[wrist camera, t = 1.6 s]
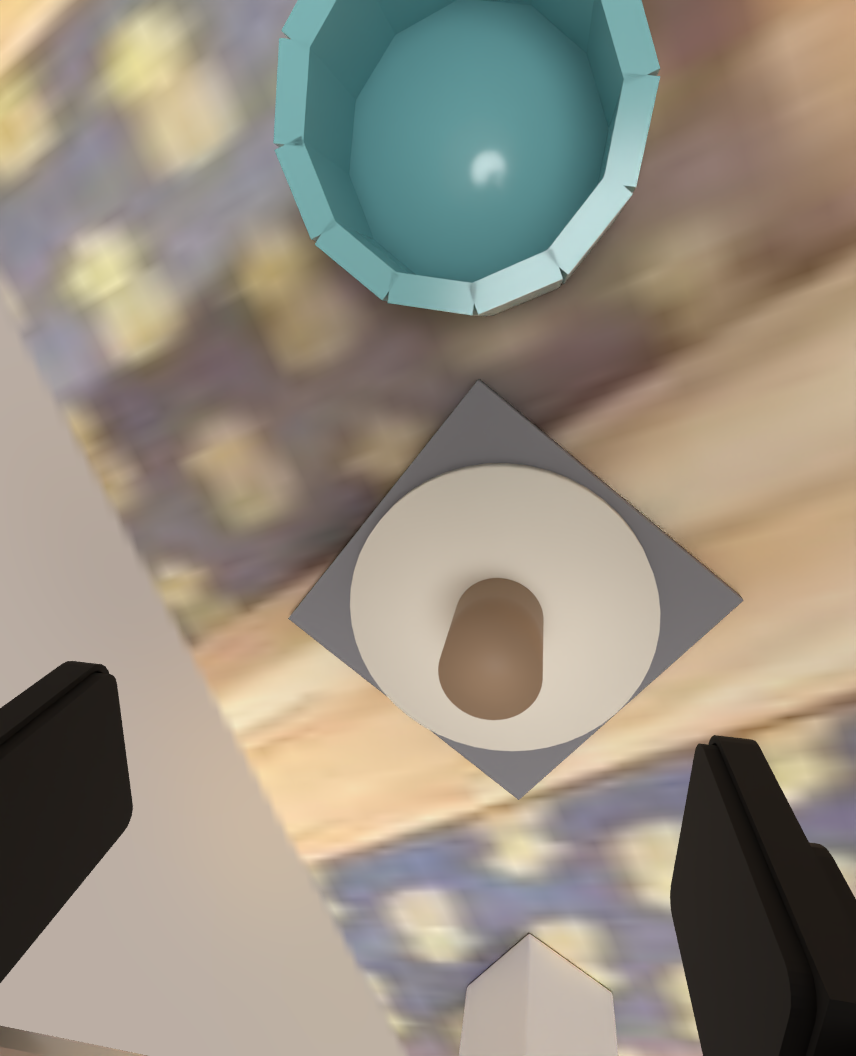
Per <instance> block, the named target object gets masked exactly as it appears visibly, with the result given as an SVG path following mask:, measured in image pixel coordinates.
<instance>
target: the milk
mask: <svg viewBox="0 0 856 1056" xmlns="http://www.w3.org/2000/svg"><path fill="white" fill-rule="evenodd" d="M459 1056H618V1047H617V1037H616V1026H615V1016H614V1005H613V996H612V993H611V992H610V991H609V990H608V989H606V988H605V987H604V986H602V985H601V984H599V983H598V982H597V981H595V980H594V979H592V978H591V977H590V976H588V975H587V974H585V973H584V972H583V971H581V970H580V969H578V968H577V967H576V966H574V965H573V964H571V963H570V962H569V961H567V960H566V959H564V958H563V957H562V956H560V955H559V954H557V953H556V952H555V951H553V950H552V949H550V948H549V947H548V946H546V945H545V944H544V943H542V942H541V941H539V940H538V939H537V938H535V937H534V936H532V935H531V934H528V935H527V936H526V937H524V938H523V939H522V940H521V941H520V942H519V943H517V944H516V945H515V946H514V947H513V948H512V949H510V950H509V951H508V952H507V953H506V954H505V955H503V956H502V957H501V958H500V959H499V960H498V961H496V962H495V963H494V964H493V965H492V966H491V967H490V968H488V969H487V970H486V971H485V972H484V973H483V974H481V975H480V976H479V977H478V978H477V979H476V980H474V981H473V982H472V983H471V984H470V985H469V986H468V987H467V992H466V1000H465V1008H464V1016H463V1025H462V1033H461V1041H460V1049H459Z"/></svg>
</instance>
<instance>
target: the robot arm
mask: <svg viewBox="0 0 856 1056" xmlns="http://www.w3.org/2000/svg"><path fill="white" fill-rule="evenodd" d="M132 810H133V805H132V796H131V789H130V781H129V773H128V766H127V758H126V750H125V743H124V735H123V727H122V720H121V712H120V704H119V696H118V689H117V682H116V679H115V677H114V676H113V675H111V674H109V671H108V670H107V668H106V667H105V666H103V665H102V664H93V663H85V662H76V661H67V662H65V663H63V664H61V665H60V666H59V667H57V668H56V669H55V670H53V671H52V672H50V673H49V674H47V675H46V676H45V677H43V678H42V679H40V680H39V681H38V682H36V683H35V684H34V685H32V686H31V687H29V688H28V689H27V690H25V691H24V692H22V693H21V694H20V695H18V696H17V697H15V698H14V699H13V700H11V701H10V702H9V703H7V704H6V705H4V706H3V707H2V708H0V983H1V982H2V980H3V979H4V978H5V977H6V976H7V974H8V973H9V972H10V971H11V969H12V968H13V967H14V966H15V965H16V963H17V962H18V961H19V960H20V958H21V957H22V956H23V955H24V953H25V952H26V951H27V950H28V949H29V947H30V946H31V945H32V943H33V942H34V941H35V940H36V939H37V938H38V936H39V935H40V934H41V933H42V931H43V930H44V929H45V928H46V926H47V925H48V924H49V922H51V920H52V919H53V918H54V917H55V915H56V914H57V913H58V912H59V911H60V909H61V908H62V907H63V906H64V904H65V903H66V902H67V901H68V899H69V898H70V897H71V896H72V895H73V893H74V892H75V891H76V890H77V888H78V887H79V886H80V885H81V883H82V882H83V881H84V880H85V879H86V877H87V876H88V875H89V874H90V872H91V871H92V870H93V869H94V868H95V866H96V865H97V864H98V863H99V861H100V860H101V859H102V858H103V857H104V855H105V854H106V852H108V850H109V849H110V848H111V847H112V845H113V844H114V843H115V842H116V841H117V839H118V838H119V837H120V836H121V834H122V833H123V832H124V831H125V829H126V828H127V826H128V824H129V821H130V819H131V816H132ZM670 903H671V912H672V917H673V922H674V926H675V931H676V935H677V940H678V944H679V949H680V953H681V958H682V962H683V967H684V971H685V976H686V980H687V985H688V989H689V994H690V998H691V1003H692V1007H693V1012H694V1016H695V1021H696V1025H697V1030H698V1034H699V1039H700V1043H701V1048H702V1052H703V1056H856V899H855V897H854V895H853V893H852V892H851V890H850V888H849V886H848V884H847V882H846V881H845V879H844V877H843V875H842V873H841V871H840V870H839V868H838V866H837V864H836V862H835V860H834V859H833V857H832V856H831V854H830V853H829V851H828V850H827V849H826V848H825V847H823V846H822V845H820V844H816V843H809V842H808V840H807V838H806V836H805V834H804V832H803V830H802V828H801V826H800V824H799V823H798V821H797V819H796V817H795V815H794V813H793V811H792V809H791V807H790V805H789V803H788V801H787V799H786V797H785V795H784V793H783V791H782V790H781V788H780V786H779V784H778V782H777V780H776V778H775V776H774V774H773V772H772V770H771V768H770V766H769V764H768V762H767V760H766V758H765V757H764V755H763V753H762V751H761V749H760V747H759V745H758V744H757V742H756V741H754V740H751V739H742V738H733V737H725V736H716V735H714V736H712V737H711V739H710V741H709V745H707V744H698V745H697V747H696V750H695V754H694V760H693V766H692V771H691V777H690V782H689V788H688V793H687V799H686V805H685V810H684V816H683V821H682V827H681V832H680V838H679V844H678V849H677V855H676V860H675V866H674V871H673V877H672V882H671V891H670ZM0 1056H147V1055H142V1054H137V1053H132V1052H128V1051H123V1050H117V1049H112V1048H108V1047H103V1046H98V1045H93V1044H89V1043H83V1042H79V1041H74V1040H69V1039H64V1038H59V1037H54V1036H49V1035H44V1034H39V1033H34V1032H29V1031H24V1030H19V1029H14V1028H9V1027H4V1026H0Z"/></svg>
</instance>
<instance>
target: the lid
mask: <svg viewBox="0 0 856 1056" xmlns="http://www.w3.org/2000/svg"><path fill="white" fill-rule="evenodd" d="M350 613H351V623H352V628H353V632H354V637H355V641H356V644H357V646H358V649H359V652H360V654H361V657H362V659H363V661H364V663H365V665H366V667H367V669H368V671H369V672H370V674H371V676H372V677H373V679H374V680H375V682H376V683H377V684H378V686H379V687H380V689H381V690H382V691H383V692H384V693H385V694H386V695H387V697H388V698H389V699H390V700H391V701H392V702H393V703H394V704H395V705H396V706H397V707H398V708H400V709H401V710H402V711H403V712H404V713H405V714H406V715H408V716H409V717H410V718H412V719H413V720H415V721H416V722H418V723H419V724H420V725H422V726H424V727H425V728H427V729H429V730H431V731H433V732H435V733H436V734H438V735H441V736H443V737H446V738H448V739H450V740H453V741H455V742H459V743H462V744H466V745H469V746H473V747H477V748H483V749H489V750H499V751H526V750H535V749H541V748H547V747H552V746H555V745H558V744H562V743H565V742H568V741H571V740H573V739H575V738H578V737H580V736H582V735H585V734H586V733H588V732H590V731H592V730H593V729H595V728H597V727H598V726H600V725H602V724H603V723H604V722H606V721H607V720H608V719H609V718H611V717H612V716H613V715H615V714H616V713H617V712H618V711H619V710H620V709H621V708H622V707H623V706H624V705H625V704H626V703H627V702H628V701H629V700H630V698H631V697H632V696H633V694H634V693H635V691H636V690H637V689H638V687H639V686H640V685H641V683H642V681H643V679H644V677H645V675H646V674H647V672H648V670H649V668H650V665H651V662H652V660H653V657H654V654H655V651H656V647H657V642H658V637H659V632H660V603H659V593H658V589H657V585H656V581H655V577H654V574H653V571H652V569H651V566H650V564H649V562H648V559H647V557H646V554H645V552H644V550H643V547H642V546H641V544H640V542H639V541H638V539H637V537H636V536H635V534H634V532H633V531H632V529H631V528H630V527H629V526H628V524H627V523H626V522H625V521H624V519H623V518H622V517H621V516H620V514H619V513H618V512H616V511H615V510H614V509H613V508H612V507H611V506H610V505H609V504H608V503H607V502H606V501H605V500H604V499H602V498H601V497H599V496H598V495H597V494H595V493H594V492H592V491H591V490H590V489H588V488H587V487H585V486H583V485H581V484H579V483H577V482H576V481H574V480H572V479H570V478H568V477H565V476H563V475H560V474H557V473H555V472H552V471H549V470H545V469H541V468H537V467H533V466H529V465H520V464H511V463H486V464H479V465H473V466H466V467H462V468H459V469H455V470H452V471H448V472H445V473H443V474H441V475H438V476H436V477H434V478H432V479H429V480H427V481H426V482H424V483H422V484H421V485H419V486H417V487H416V488H414V489H412V490H411V491H410V492H408V493H407V494H406V495H405V496H404V497H402V498H401V499H400V500H399V501H397V502H396V503H395V504H394V505H393V506H392V508H391V509H390V510H389V511H388V512H387V513H386V514H385V515H384V516H383V517H382V519H381V520H380V521H379V522H378V524H377V525H376V526H375V528H374V529H373V531H372V532H371V534H370V535H369V537H368V538H367V540H366V542H365V544H364V546H363V548H362V550H361V552H360V554H359V557H358V560H357V563H356V566H355V569H354V573H353V579H352V584H351V592H350Z"/></svg>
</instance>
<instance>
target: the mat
mask: <svg viewBox="0 0 856 1056" xmlns="http://www.w3.org/2000/svg"><path fill="white" fill-rule="evenodd" d="M486 463H511V464H520V465H529V466H533V467H537V468H541V469H545V470H549V471H552V472H555V473H557V474H560V475H563V476H565V477H568V478H570V479H572V480H574V481H576V482H577V483H579V484H581V485H583V486H585V487H587V488H588V489H590V490H591V491H592V492H594V493H595V494H597V495H598V496H599V497H601V498H602V499H604V500H605V501H606V502H607V503H608V504H609V505H610V506H611V507H612V508H613V509H614V510H615V511H616V512H618V513H619V514H620V516H621V517H622V518H623V519H624V521H625V522H626V523H627V524H628V526H629V527H630V528H631V529H632V531H633V532H634V534H635V536H636V537H637V539H638V541H639V542H640V544H641V546H642V547H643V550H644V552H645V554H646V557H647V559H648V562H649V564H650V566H651V569H652V571H653V574H654V577H655V581H656V585H657V589H658V593H659V603H660V632H659V637H658V642H657V647H656V651H655V654H654V657H653V660H652V662H651V665H650V668H649V670H648V672H647V674H646V675H645V677H644V679H643V681H642V683H641V685H640V686H639V687H638V689H637V690H636V691H635V693H634V694H633V696H632V697H631V698H630V700H629V701H628V702H627V703H629V702H630V701H631V700H632V699H633V698H634V697H635V696H636V695H638V694H639V693H640V692H641V691H642V690H643V689H644V688H645V687H647V686H648V685H649V684H650V683H651V682H652V681H653V680H654V679H656V678H657V677H658V676H659V675H660V674H661V673H662V672H663V671H665V670H666V669H667V668H668V667H669V666H670V665H671V664H672V663H674V662H675V661H676V660H677V659H678V658H679V657H680V656H681V655H683V654H684V653H685V652H686V651H687V650H688V649H689V648H691V647H692V646H693V645H694V644H695V643H696V642H697V641H698V640H700V639H701V638H702V637H703V636H704V635H705V634H706V633H707V632H709V631H710V630H711V629H712V628H713V627H714V626H715V625H716V624H718V623H719V622H720V621H721V620H722V619H723V618H724V617H725V616H727V615H728V614H729V613H730V612H731V611H732V610H733V609H734V608H736V607H737V606H738V605H739V604H740V603H741V602H742V601H743V599H742V597H741V596H740V595H739V594H738V593H736V592H735V591H734V590H733V589H732V588H730V587H729V586H728V585H727V584H726V583H724V582H723V581H722V580H721V579H720V578H718V577H717V576H716V575H715V574H714V573H712V572H711V571H710V570H709V569H708V568H706V567H705V566H704V565H703V564H701V563H700V562H699V561H698V560H697V559H695V558H694V557H693V556H692V555H691V554H689V553H688V552H687V551H686V550H685V549H683V548H682V547H681V546H680V545H679V544H677V543H676V542H675V541H674V540H673V539H671V538H670V537H669V536H668V535H667V534H665V533H664V532H663V531H662V530H661V529H659V528H658V527H657V526H656V525H655V524H653V523H652V522H651V521H650V520H648V519H647V518H646V517H645V516H644V515H642V514H641V513H640V512H639V511H638V510H636V509H635V508H634V507H633V506H632V505H630V504H629V503H628V502H627V501H626V500H624V499H623V498H622V497H621V496H620V495H618V494H617V493H616V492H615V491H614V490H612V489H611V488H610V487H609V486H608V485H606V484H605V483H604V482H603V481H602V480H600V479H599V478H598V477H597V476H596V475H594V474H593V473H592V472H591V471H589V470H588V469H587V468H586V467H585V466H583V465H582V464H581V463H580V462H579V461H577V460H576V459H575V458H574V457H573V456H571V455H570V454H569V453H568V452H567V451H565V450H564V449H563V448H562V447H561V446H559V445H558V444H557V443H556V442H555V441H553V440H552V439H551V438H550V437H549V436H547V435H546V434H545V433H544V432H543V431H541V430H540V429H539V428H538V427H537V426H535V425H534V424H533V423H532V422H530V421H529V420H528V419H527V418H526V417H524V416H523V415H522V414H521V413H520V412H518V411H517V410H516V409H515V408H514V407H512V406H511V405H510V404H509V403H508V402H506V401H505V400H504V399H503V398H502V397H500V396H499V395H498V394H497V393H496V392H494V391H493V390H492V389H491V388H490V387H488V386H487V385H486V384H485V383H484V382H482V381H481V380H480V379H478V381H477V382H476V383H475V384H474V386H473V387H472V388H471V389H470V391H469V392H468V393H467V394H466V396H465V397H464V398H463V399H462V401H461V402H460V403H459V404H458V406H457V407H456V408H455V409H454V411H453V412H452V413H451V415H450V416H449V417H448V418H447V420H446V421H445V422H444V423H443V425H442V426H441V427H440V428H439V430H438V431H437V432H436V433H435V435H434V436H433V437H432V438H431V440H430V441H429V442H428V443H427V445H426V446H425V447H424V448H423V450H422V451H421V452H420V453H419V455H418V456H417V457H416V459H415V460H414V461H413V462H412V464H411V465H410V466H409V467H408V469H407V470H406V471H405V472H404V474H403V475H402V476H401V477H400V479H399V480H398V481H397V482H396V484H395V485H394V486H393V487H392V489H391V490H390V491H389V492H388V494H387V495H386V496H385V497H384V499H383V500H382V501H381V503H380V504H379V505H378V506H377V508H376V509H375V510H374V511H373V513H372V514H371V515H370V516H369V518H368V519H367V520H366V521H365V523H364V524H363V525H362V526H361V528H360V529H359V530H358V531H357V533H356V534H355V535H354V536H353V538H352V539H351V540H350V541H349V543H348V544H347V545H346V547H345V548H344V549H343V550H342V552H341V553H340V554H339V555H338V557H337V558H336V559H335V560H334V562H333V563H332V564H331V565H330V567H329V568H328V569H327V570H326V572H325V573H324V574H323V575H322V577H321V578H320V579H319V580H318V582H317V583H316V584H315V586H314V587H313V588H312V589H311V591H310V592H309V593H308V594H307V596H306V597H305V598H304V599H303V601H302V602H301V603H300V604H299V606H298V607H297V608H296V609H295V611H294V612H293V613H292V614H291V616H290V617H289V618H288V619H289V620H291V621H292V622H293V623H294V624H296V625H297V626H298V627H300V628H301V629H302V630H303V631H305V632H306V633H307V634H308V635H310V636H311V637H312V638H314V639H315V640H316V641H317V642H319V643H320V644H321V645H322V646H324V647H325V648H326V649H327V650H329V651H330V652H331V653H333V654H334V655H335V656H336V657H338V658H339V659H340V660H341V661H343V662H344V663H345V664H347V665H348V666H349V667H350V668H352V669H353V670H354V671H355V672H357V673H358V674H359V675H361V676H362V677H363V678H364V679H366V680H367V681H368V682H369V683H371V684H372V685H373V686H375V687H376V688H377V689H378V690H380V691H381V692H382V693H383V694H385V693H384V692H383V691H382V690H381V689H380V687H379V686H378V684H377V683H376V682H375V680H374V679H373V677H372V676H371V674H370V672H369V671H368V669H367V667H366V665H365V663H364V661H363V659H362V657H361V654H360V652H359V649H358V646H357V644H356V641H355V637H354V632H353V628H352V623H351V613H350V592H351V584H352V579H353V573H354V569H355V566H356V563H357V560H358V557H359V554H360V552H361V550H362V548H363V546H364V544H365V542H366V540H367V538H368V537H369V535H370V534H371V532H372V531H373V529H374V528H375V526H376V525H377V524H378V522H379V521H380V520H381V519H382V517H383V516H384V515H385V514H386V513H387V512H388V511H389V510H390V509H391V508H392V506H393V505H394V504H395V503H396V502H397V501H399V500H400V499H401V498H402V497H404V496H405V495H406V494H407V493H408V492H410V491H411V490H412V489H414V488H416V487H417V486H419V485H421V484H422V483H424V482H426V481H427V480H429V479H432V478H434V477H436V476H438V475H441V474H443V473H445V472H448V471H452V470H455V469H459V468H462V467H466V466H473V465H479V464H486ZM385 695H386V694H385ZM386 696H387V695H386ZM627 703H626V704H627ZM626 704H625V705H626ZM625 705H624V706H625ZM624 706H623V707H624ZM623 707H622V708H623ZM622 708H621V709H622ZM621 709H620V710H621ZM620 710H619V711H620ZM613 716H614V715H613ZM613 716H612V717H613ZM612 717H611V718H612ZM611 718H609V719H611ZM609 719H608V720H609ZM608 720H607V721H608ZM607 721H606V722H607ZM606 722H604V723H603V724H602V725H600V726H598V727H597V728H595V729H593V730H592V731H590V732H588V733H586V734H585V735H582V736H580V737H578V738H575V739H573V740H571V741H568V742H565V743H562V744H558V745H555V746H552V747H547V748H541V749H535V750H526V751H499V750H489V749H483V748H477V747H473V746H469V745H466V744H462V743H459V742H455V741H453V740H450V739H448V738H446V737H443V736H441V735H438V734H436V733H435V732H433V731H432V732H433V733H434V734H436V735H437V736H438V737H439V738H441V739H442V740H443V741H444V742H446V743H447V744H448V745H450V746H451V747H452V748H453V749H455V750H456V751H457V752H458V753H460V754H461V755H462V756H464V757H465V758H466V759H467V760H469V761H470V762H471V763H472V764H474V765H475V766H476V767H477V768H479V769H480V770H481V771H483V772H484V773H485V774H486V775H488V776H489V777H490V778H491V779H493V780H494V781H495V782H497V783H498V784H499V785H500V786H502V787H503V788H504V789H505V790H507V791H508V792H509V793H511V794H512V795H513V796H514V797H516V798H517V799H518V800H519V799H520V798H522V797H523V796H524V795H525V794H526V793H527V792H528V791H529V790H531V789H532V788H533V787H534V786H535V785H536V784H537V783H538V782H540V781H541V780H542V779H543V778H544V777H545V776H546V775H547V774H549V773H550V772H551V771H552V770H553V769H554V768H555V767H556V766H558V765H559V764H560V763H561V762H562V761H563V760H564V759H565V758H567V757H568V756H569V755H570V754H571V753H572V752H573V751H574V750H576V749H577V748H578V747H579V746H580V745H581V744H582V743H583V742H585V741H586V740H587V739H588V738H589V737H590V736H591V735H593V734H594V733H595V732H596V731H597V730H598V729H599V728H600V727H602V726H603V725H604V724H605V723H606ZM430 731H431V730H430Z"/></svg>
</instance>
